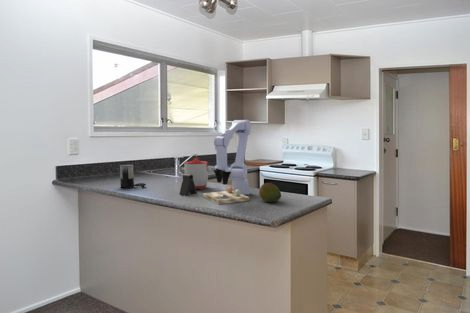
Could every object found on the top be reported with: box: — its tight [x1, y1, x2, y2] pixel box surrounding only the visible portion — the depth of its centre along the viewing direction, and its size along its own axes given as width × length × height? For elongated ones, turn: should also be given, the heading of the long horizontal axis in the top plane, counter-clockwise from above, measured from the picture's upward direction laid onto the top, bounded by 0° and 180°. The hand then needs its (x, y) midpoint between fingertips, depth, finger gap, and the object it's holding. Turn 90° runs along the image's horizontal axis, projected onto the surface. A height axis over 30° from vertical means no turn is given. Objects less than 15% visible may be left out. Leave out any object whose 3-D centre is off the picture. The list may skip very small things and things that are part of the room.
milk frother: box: [119, 164, 147, 189], centre depth 246 cm, size 14×16×15 cm
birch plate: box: [202, 190, 250, 205], centre depth 206 cm, size 18×22×2 cm
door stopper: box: [178, 173, 198, 197], centre depth 220 cm, size 9×6×12 cm, turn 137°
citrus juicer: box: [183, 157, 212, 190], centre depth 239 cm, size 16×17×20 cm
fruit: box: [258, 182, 282, 203], centre depth 196 cm, size 12×13×10 cm
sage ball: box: [235, 189, 241, 196], centre depth 204 cm, size 4×4×4 cm
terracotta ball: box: [226, 186, 233, 192], centre depth 213 cm, size 4×4×4 cm
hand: (222, 183), depth 201 cm, fingers open, 7 cm apart
